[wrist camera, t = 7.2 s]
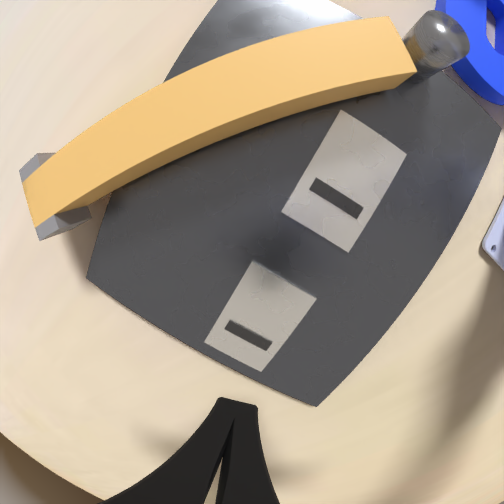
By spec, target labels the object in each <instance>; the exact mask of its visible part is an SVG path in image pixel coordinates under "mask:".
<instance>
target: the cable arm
mask: <svg viewBox="0 0 504 504" xmlns="http://www.w3.org/2000/svg"><path fill="white" fill-rule="evenodd" d="M416 72H417V70H416V67H415V65H414V63H413V61H412V59H411V57H410V55H409V53H408V51H407V49H406V47H405V45H404V43H403V41H402V39H401V37H400V35H399V34H398V32H397V30H396V28H395V26H394V25H393V23H392V21H391V19H390V18H389V16H386V17H375V18H367V19H359V20H352V21H346V22H340V23H334V24H329V25H324V26H319V27H314V28H310V29H306V30H302V31H297V32H294V33H290V34H286V35H282V36H279V37H276V38H272V39H269V40H266V41H262V42H259V43H256V44H253V45H250V46H247V47H245V48H242V49H239V50H236V51H234V52H231V53H228V54H226V55H223V56H221V57H218V58H216V59H213V60H211V61H208V62H206V63H204V64H201V65H199V66H197V67H195V68H192V69H190V70H188V71H186V72H184V73H182V74H180V75H178V76H176V77H174V78H172V79H170V80H168V81H166V82H164V83H162V84H160V85H158V86H156V87H154V88H152V89H151V90H149V91H147V92H145V93H143V94H142V95H140V96H138V97H136V98H135V99H133V100H131V101H130V102H128V103H126V104H125V105H123V106H121V107H120V108H118V109H117V110H115V111H113V112H112V113H110V114H109V115H107V116H106V117H104V118H103V119H101V120H100V121H98V122H97V123H95V124H94V125H92V126H91V127H90V128H88V129H87V130H85V131H84V132H83V133H81V134H80V135H79V136H77V137H76V138H75V139H73V140H72V141H71V142H69V143H68V144H67V145H65V146H64V147H63V148H62V149H60V150H59V151H58V152H57V153H37V154H36V155H35V156H34V157H33V158H32V159H31V160H30V161H29V162H27V163H26V164H25V165H24V166H23V167H22V168H21V169H20V170H19V172H20V176H21V180H22V185H23V189H24V192H25V196H26V200H27V203H28V207H29V210H30V214H31V217H32V220H33V223H34V226H35V229H36V232H37V235H38V238H39V241H41V240H44V239H46V238H49V237H52V236H55V235H57V234H60V233H63V232H66V231H68V230H71V229H73V228H75V227H77V226H78V225H80V224H82V223H84V222H85V221H87V220H89V219H91V215H90V212H89V209H88V205H89V204H91V203H93V202H95V201H96V200H98V199H100V198H102V197H103V196H105V195H107V194H109V193H110V192H112V191H114V190H116V189H118V188H120V187H121V186H123V185H125V184H127V183H129V182H131V181H133V180H135V179H137V178H139V177H141V176H143V175H145V174H147V173H149V172H151V171H153V170H155V169H157V168H159V167H161V166H163V165H165V164H167V163H169V162H171V161H174V160H176V159H178V158H180V157H182V156H185V155H187V154H189V153H191V152H194V151H196V150H198V149H200V148H203V147H205V146H208V145H210V144H212V143H215V142H217V141H220V140H222V139H225V138H227V137H230V136H232V135H235V134H238V133H240V132H243V131H246V130H248V129H251V128H254V127H256V126H259V125H262V124H265V123H268V122H271V121H274V120H277V119H280V118H283V117H286V116H289V115H292V114H295V113H298V112H302V111H305V110H308V109H312V108H315V107H319V106H322V105H326V104H330V103H333V102H337V101H341V100H345V99H349V98H353V97H357V96H361V95H366V94H370V93H375V92H380V91H384V90H389V89H394V88H396V87H397V86H398V85H400V84H401V83H403V82H404V81H405V80H407V79H408V78H409V77H411V76H412V75H413V74H415V73H416Z"/></svg>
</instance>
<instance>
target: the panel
mask: <svg viewBox="0 0 504 504" xmlns="http://www.w3.org/2000/svg"><path fill="white" fill-rule="evenodd" d="M359 19H363V18H362V17H360V16H358V15H356V14H354V13H352V12H350V11H348V10H346V9H344V8H342V7H340V6H338V5H336V4H334V3H331V2H329V1H327V0H218V1H217V2H216V4H215V5H214V6H213V8H212V9H211V10H210V12H209V13H208V14H207V16H206V17H205V18H204V20H203V21H202V22H201V24H200V25H199V27H198V28H197V30H196V31H195V32H194V34H193V35H192V37H191V38H190V40H189V41H188V43H187V44H186V46H185V47H184V49H183V51H182V52H181V54H180V55H179V57H178V59H177V60H176V62H175V63H174V65H173V67H172V68H171V70H170V72H169V74H168V75H167V77H166V79H165V80H164V82H166V81H168V80H170V79H172V78H174V77H176V76H178V75H180V74H182V73H184V72H186V71H188V70H190V69H192V68H195V67H197V66H199V65H201V64H204V63H206V62H208V61H211V60H213V59H216V58H218V57H221V56H223V55H226V54H228V53H231V52H234V51H236V50H239V49H242V48H245V47H247V46H250V45H253V44H256V43H259V42H262V41H266V40H269V39H272V38H276V37H279V36H282V35H286V34H290V33H294V32H297V31H302V30H306V29H310V28H314V27H319V26H324V25H329V24H334V23H340V22H346V21H352V20H359ZM402 41H403V43H404V45H405V47H406V49H407V51H408V53H409V55H410V57H411V59H412V61H413V63H414V65H415V67H416V70H417V72H416V73H415V74H413V75H412V76H411V77H409V78H408V79H407V80H405V81H404V82H403V83H401V84H400V85H398V86H397V87H396V88H394V89H389V90H384V91H380V92H375V93H370V94H366V95H361V96H357V97H353V98H349V99H345V100H341V101H337V102H333V103H330V104H326V105H322V106H319V107H315V108H312V109H308V110H305V111H302V112H298V113H295V114H292V115H289V116H286V117H283V118H280V119H277V120H274V121H271V122H268V123H265V124H262V125H259V126H256V127H254V128H251V129H248V130H246V131H243V132H240V133H238V134H235V135H232V136H230V137H227V138H225V139H222V140H220V141H217V142H215V143H212V144H210V145H208V146H205V147H203V148H200V149H198V150H196V151H194V152H191V153H189V154H187V155H185V156H182V157H180V158H178V159H176V160H174V161H171V162H169V163H167V164H165V165H163V166H161V167H159V168H157V169H155V170H153V171H151V172H149V173H147V174H145V175H143V176H141V177H139V178H137V179H135V180H133V181H131V182H129V183H127V184H125V185H123V186H121V187H120V188H118V189H116V190H114V191H113V192H112V195H111V198H110V200H109V203H108V206H107V209H106V212H105V215H104V218H103V221H102V224H101V227H100V230H99V233H98V237H97V240H96V243H95V247H94V250H93V254H92V257H91V261H90V265H89V268H88V272H87V276H86V278H87V279H88V280H89V281H91V282H92V283H94V284H95V285H96V286H98V287H99V288H100V289H102V290H103V291H105V292H106V293H107V294H109V295H110V296H112V297H113V298H115V299H116V300H117V301H119V302H120V303H122V304H123V305H125V306H126V307H128V308H129V309H131V310H132V311H134V312H135V313H137V314H138V315H140V316H141V317H143V318H145V319H146V320H148V321H149V322H151V323H152V324H154V325H156V326H157V327H159V328H160V329H162V330H164V331H165V332H167V333H169V334H170V335H172V336H174V337H175V338H177V339H179V340H180V341H182V342H184V343H186V344H187V345H189V346H191V347H193V348H194V349H196V350H198V351H200V352H202V353H203V354H205V355H207V356H209V357H211V358H213V359H214V360H216V361H218V362H220V363H222V364H224V365H226V366H228V367H230V368H232V369H234V370H236V371H238V372H240V373H242V374H244V375H246V376H248V377H250V378H252V379H254V380H256V381H258V382H260V383H262V384H264V385H267V386H269V387H271V388H273V389H275V390H277V391H280V392H282V393H284V394H286V395H289V396H291V397H293V398H296V399H298V400H300V401H303V402H305V403H308V404H310V405H313V406H315V407H317V406H318V405H319V404H320V403H321V402H322V401H323V400H324V399H325V398H326V397H327V396H328V395H329V394H330V393H331V392H332V391H333V390H334V389H335V388H336V387H337V386H338V385H339V384H340V383H341V382H342V381H343V380H344V379H345V378H346V377H347V376H348V375H349V374H350V373H351V372H352V371H353V370H354V369H355V367H356V366H357V365H358V364H359V363H360V362H361V361H362V360H363V359H364V357H365V356H366V355H367V354H368V353H369V352H370V351H371V349H372V348H373V347H374V346H375V345H376V344H377V342H378V341H379V340H380V339H381V338H382V336H383V335H384V334H385V333H386V331H387V330H388V329H389V328H390V326H391V325H392V324H393V323H394V321H395V320H396V319H397V317H398V316H399V315H400V314H401V312H402V311H403V310H404V308H405V307H406V306H407V304H408V303H409V301H410V300H411V299H412V297H413V296H414V295H415V293H416V292H417V290H418V289H419V287H420V286H421V285H422V283H423V282H424V280H425V279H426V277H427V276H428V274H429V273H430V271H431V270H432V268H433V267H434V265H435V263H436V262H437V260H438V259H439V257H440V255H441V254H442V252H443V251H444V249H445V247H446V246H447V244H448V242H449V241H450V239H451V237H452V235H453V234H454V232H455V230H456V228H457V227H458V225H459V223H460V221H461V219H462V217H463V216H464V214H465V212H466V210H467V208H468V206H469V204H470V202H471V200H472V198H473V196H474V194H475V192H476V190H477V188H478V186H479V183H480V181H481V179H482V177H483V175H484V172H485V170H486V168H487V165H488V163H489V161H490V158H491V156H492V153H493V151H494V148H495V145H496V143H497V140H498V137H499V135H500V132H501V128H500V127H499V125H498V124H497V123H496V122H495V121H494V120H493V119H492V118H491V117H490V116H489V114H488V113H487V112H486V111H485V110H484V109H483V108H482V107H481V106H480V105H479V104H478V103H477V102H476V101H475V100H474V99H473V98H472V97H471V96H470V95H468V94H467V93H466V92H465V91H464V90H463V89H462V88H461V87H460V86H459V85H458V84H456V83H455V82H454V81H453V80H452V79H451V78H450V77H448V76H447V75H446V74H445V73H444V72H442V71H441V70H443V69H445V68H446V67H448V66H450V65H451V64H453V63H455V62H457V61H458V60H460V59H462V58H463V57H465V56H466V55H467V54H468V53H469V50H470V43H469V39H468V36H467V34H466V32H465V31H464V29H463V28H462V27H461V25H460V24H459V23H458V22H457V21H456V20H455V19H453V18H452V17H451V16H449V15H448V14H446V13H443V12H441V11H437V10H431V11H428V12H426V13H425V14H424V15H423V16H422V17H421V18H420V20H419V21H418V22H417V23H416V24H415V25H414V26H413V27H412V28H411V30H410V31H409V32H408V33H407V34H406V35H405V36H404V37H403V39H402ZM164 82H163V83H164Z"/></svg>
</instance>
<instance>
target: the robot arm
mask: <svg viewBox="0 0 504 504" xmlns="http://www.w3.org/2000/svg"><path fill="white" fill-rule="evenodd" d="M492 246H493V249H492V250H491V248H492ZM482 247H483V249H484V251H485V252H486V253H487V254H488V255H489V256H490V257H491V258H492V259H493V260H494V261H495V262H496V263H497V264H498V265H499V267H500V268H501V269H502V270H503V271H504V198H503V201H502V203H501V205H500V207H499V209H498V211H497V214H496V216H495V218H494V220H493V222H492V224H491V226H490V228H489V230H488V232H487V234H486V235H485V237H484V239H483V242H482ZM222 457H223V459H222ZM221 460H222V465H221V471H220V477H219V484H218V490H217V496H216V503H215V504H280V503H279V500H278V498H277V496H276V493H275V491H274V488H273V485H272V482H271V479H270V476H269V473H268V470H267V466H266V462H265V458H264V454H263V450H262V445H261V440H260V433H259V425H258V408H257V406H256V405H252V404H248V403H243V402H239V401H235V400H231V399H227V398H224V397H220V398H218V399H217V401H216V403H215V405H214V407H213V408H212V410H211V412H210V413H209V415H208V416H207V417H206V419H205V420H204V422H203V423H202V424H201V425H200V427H199V428H198V429H197V430H196V431H195V433H194V434H193V435H192V436H191V437H190V438H189V440H188V441H187V442H186V443H185V444H184V445H183V446H182V447H181V448H180V449H179V450H178V451H177V452H176V453H175V454H174V455H172V456H171V457H170V458H169V459H168V460H167V461H166V462H165V463H163V464H162V465H161V466H160V467H158V468H157V469H156V470H155V471H153V472H152V473H151V474H149V475H148V476H146V477H145V478H143V479H142V480H141V481H139V482H138V483H136V484H134V485H133V486H131V487H130V488H128V489H126V490H124V491H122V492H121V493H119V494H117V495H115V496H113V497H111V498H109V499H107V500H105V501H103V502H101V503H98V504H204V501H205V499H206V496H207V494H208V492H209V489H210V487H211V484H212V482H213V479H214V477H215V475H216V472H217V470H218V467H219V465H220V462H221Z"/></svg>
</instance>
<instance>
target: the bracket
mask: <svg viewBox="0 0 504 504" xmlns="http://www.w3.org/2000/svg"><path fill="white" fill-rule="evenodd" d="M487 8H488V9H489V10H490V11H491V12H492V14H493V15H494V17H495V21H496V28H495V49H494V48H493V47H492V46H491V44H490V43H489V41H488V39H487V36H486V15H487ZM435 10H437V11H441V12H443V13H446V14H448V15H449V16H451V17H452V18H453V19H455V20H456V21H457V22H458V23H459V24H460V25H461V27H462V28H463V29H464V31H465V32H466V34H467V36H468V39H469V43H470V50H469V53H468V54H467V55H466V56H465V57H463V58H462V59H460V60H458V61H457V62H455V63H453V64H451V66H452V67H453V68H454V70H455V71H456V73H457V74H458V75H459V76H460V77H461V79H462V80H463V81H464V82H465V83H466V84H467V85H468V86H469V87H470V88H471V89H472V90H473V91H474V92H476V93H477V94H478V95H479V96H481V97H482V98H484V99H486V100H487V101H489V102H492V103H494V104H498V105H504V0H437V1H436V7H435Z"/></svg>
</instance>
